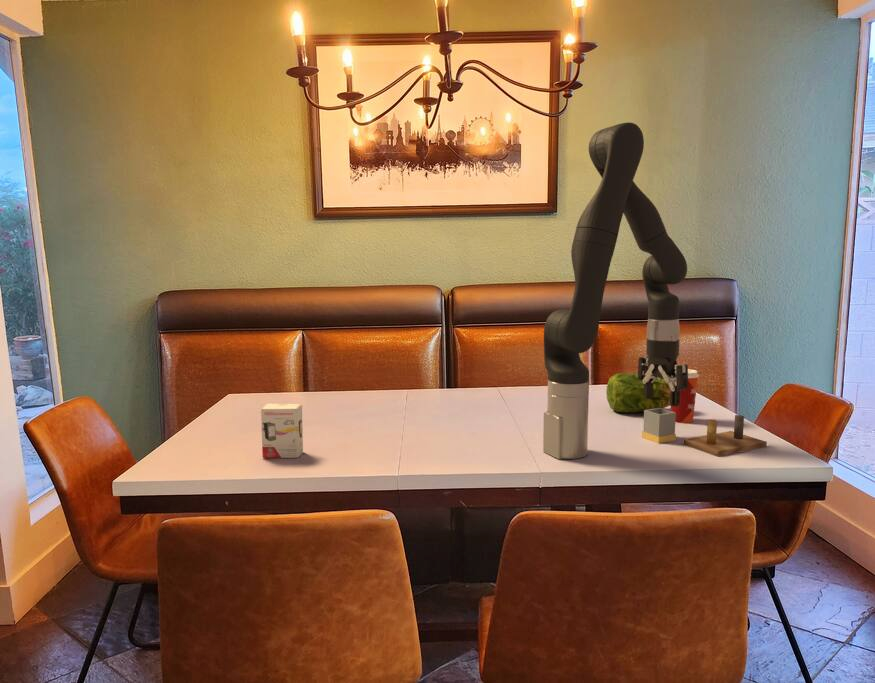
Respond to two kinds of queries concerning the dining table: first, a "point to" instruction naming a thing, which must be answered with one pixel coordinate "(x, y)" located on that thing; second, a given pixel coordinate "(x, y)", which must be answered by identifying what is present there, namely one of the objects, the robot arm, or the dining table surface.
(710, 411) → the dining table surface
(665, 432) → the sleeve
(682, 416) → the paper cup
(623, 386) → the lettuce
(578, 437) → the robot arm
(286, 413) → the ink box
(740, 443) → the pin board
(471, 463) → the dining table surface
